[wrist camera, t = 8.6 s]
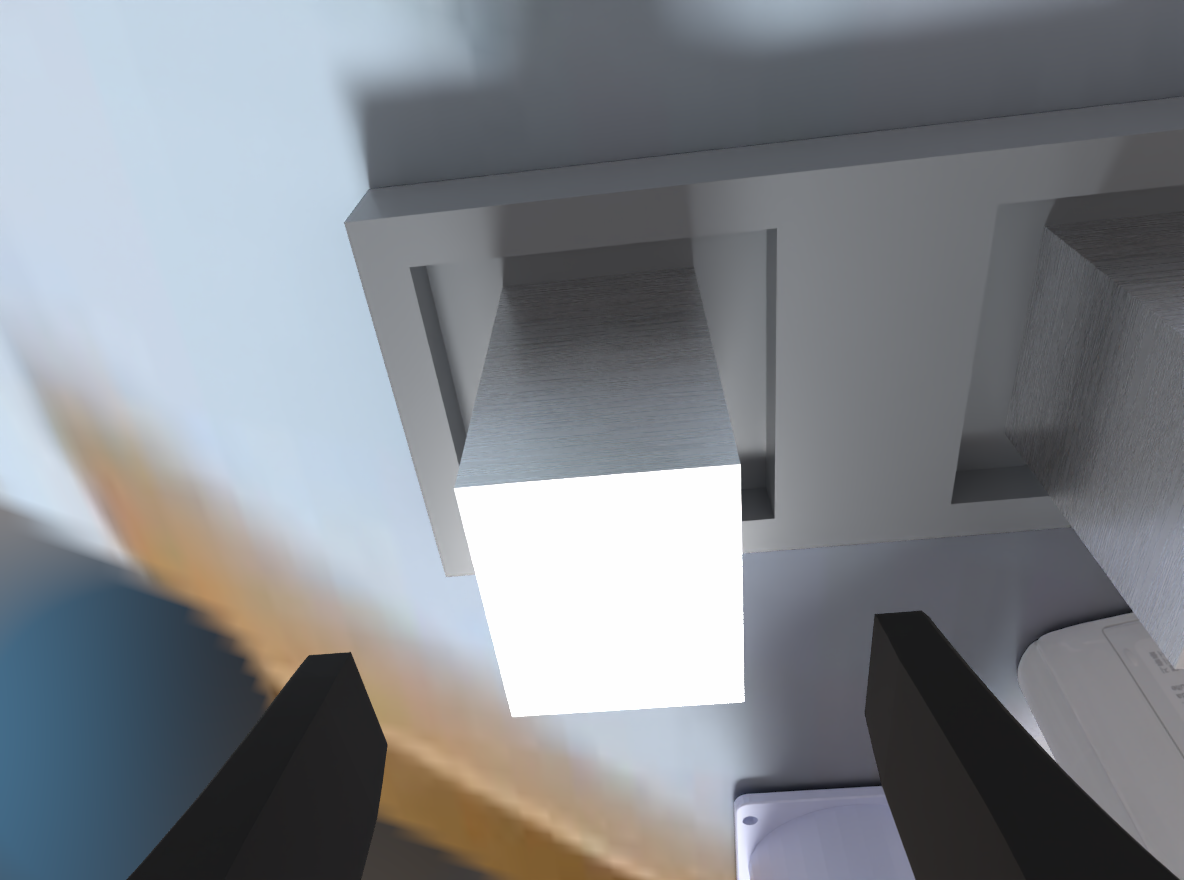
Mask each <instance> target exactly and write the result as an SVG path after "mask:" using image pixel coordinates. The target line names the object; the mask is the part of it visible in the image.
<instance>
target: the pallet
mask: <svg viewBox="0 0 1184 880" xmlns="http://www.w3.org/2000/svg"><path fill="white" fill-rule="evenodd" d="M1181 211H1184V96H1183V97H1174V98H1166V99H1157V100H1148V101H1139V102H1130V103H1122V104H1113V105H1104V106H1095V107H1087V108H1078V109H1069V110H1060V111H1051V112H1043V113H1034V114H1025V115H1016V116H1008V117H999V118H990V119H981V120H972V121H964V122H955V123H946V124H937V125H929V126H920V127H911V128H902V129H893V130H885V131H876V132H867V133H858V134H850V135H841V136H832V137H823V138H814V139H806V140H797V141H788V142H779V143H771V144H762V145H753V146H744V147H735V148H727V149H718V150H709V151H700V152H692V153H683V154H674V155H665V156H656V157H648V158H639V159H630V160H621V161H613V162H604V163H595V164H586V165H577V166H569V167H560V168H551V169H542V170H534V171H525V172H516V173H507V174H498V175H490V176H481V177H472V178H463V179H455V180H446V181H437V182H428V183H419V184H411V185H402V186H393V187H384V188H376V189H369V190H368V191H367V193H366V194H365V195H364V197H363V198H362V199H361V201H360V202H359V203H358V205H357V206H356V207H355V209H354V210H353V211H352V213H351V214H350V215H349V217H348V218H347V220H346V221H345V222H344V224H345V227H346V230H347V234H348V237H349V241H350V244H351V248H352V251H353V255H354V258H355V262H356V265H357V269H358V272H359V276H360V279H361V283H362V286H363V290H364V293H365V297H366V300H367V304H368V307H369V311H370V314H371V317H372V321H373V324H374V328H375V331H376V335H377V338H378V342H379V345H380V349H381V352H382V356H383V359H384V363H385V366H386V370H387V373H388V377H389V380H390V384H391V387H392V391H393V394H394V398H395V401H396V404H397V408H398V411H399V415H400V418H401V422H402V425H403V429H404V432H405V436H406V439H407V443H408V446H409V450H410V453H411V457H412V460H413V464H414V467H415V471H416V474H417V478H418V481H419V485H420V488H421V491H422V495H423V498H424V502H425V505H426V509H427V512H428V516H429V519H430V523H431V526H432V530H433V533H434V537H435V540H436V544H437V547H438V551H439V554H440V558H441V561H442V565H443V568H444V572H445V575H446V577H452V576H465V575H476V572H475V568H474V564H473V560H472V556H471V553H470V549H469V545H468V541H467V537H466V533H465V529H464V525H463V521H462V517H461V513H460V509H459V505H458V501H457V498H456V494H455V490H454V487H455V483H456V479H457V475H458V470H459V466H460V462H461V458H462V454H463V450H464V445H465V441H466V437H467V433H468V429H469V425H470V420H471V416H472V412H473V408H474V404H475V400H476V396H477V391H478V387H479V383H480V379H481V375H482V371H483V366H484V362H485V358H486V354H487V350H488V346H489V342H490V337H491V333H492V329H493V325H494V321H495V317H496V312H497V308H498V304H499V300H500V296H501V292H502V287H503V286H508V285H518V284H528V283H538V282H548V281H558V280H567V279H577V278H587V277H597V276H607V275H617V274H627V273H637V272H647V271H657V270H667V269H677V268H687V267H694V269H695V273H696V278H697V282H698V286H699V290H700V295H701V299H702V303H703V307H704V312H705V316H706V320H707V324H708V329H709V333H710V337H711V341H712V346H713V350H714V354H715V358H716V363H717V367H718V371H719V375H720V380H721V384H722V388H723V392H724V396H725V401H726V405H727V409H728V413H729V418H730V422H731V426H732V430H733V435H734V439H735V443H736V447H737V452H738V456H739V460H740V464H741V530H742V553H755V552H768V551H780V550H793V549H805V548H818V547H831V546H843V545H856V544H869V543H881V542H894V541H906V540H919V539H932V538H944V537H957V536H969V535H982V534H995V533H1007V532H1020V531H1033V530H1045V529H1058V528H1070V527H1072V526H1071V525H1070V523H1069V522H1068V521H1067V519H1066V518H1065V517H1064V515H1063V514H1062V512H1061V511H1060V510H1059V508H1058V507H1057V505H1056V504H1055V503H1054V501H1053V500H1052V499H1051V497H1050V496H1049V494H1048V493H1047V492H1046V490H1045V489H1044V487H1043V486H1042V485H1041V483H1040V482H1039V481H1038V479H1037V478H1036V476H1035V475H1034V474H1033V472H1032V471H1031V469H1030V468H1029V467H1028V465H1027V464H1026V463H1025V461H1024V460H1023V458H1022V457H1021V456H1020V454H1019V453H1018V451H1017V450H1016V449H1015V447H1014V446H1013V445H1012V443H1011V442H1010V440H1009V439H1008V438H1007V436H1006V435H1005V433H1004V432H1005V427H1006V422H1007V416H1008V411H1009V406H1010V401H1011V396H1012V390H1013V385H1014V380H1015V375H1016V369H1017V364H1018V359H1019V354H1020V348H1021V343H1022V338H1023V333H1024V328H1025V322H1026V317H1027V312H1028V307H1029V301H1030V296H1031V291H1032V286H1033V280H1034V275H1035V270H1036V265H1037V260H1038V254H1039V249H1040V244H1041V239H1042V233H1043V228H1044V226H1047V225H1056V224H1066V223H1076V222H1085V221H1095V220H1104V219H1114V218H1123V217H1133V216H1143V215H1152V214H1162V213H1171V212H1181Z"/></svg>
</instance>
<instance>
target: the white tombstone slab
mask: <svg viewBox="0 0 1184 880" xmlns="http://www.w3.org/2000/svg"><path fill="white" fill-rule="evenodd" d="M1017 676H1018V683H1019V686H1020V688H1021V691H1022V693H1023V695H1024V697H1025V699H1026V701H1027V703H1028V705H1029V707H1030V709H1031V711H1032V713H1033V715H1034V717H1035V720H1036V722H1037V724H1038V726H1039V728H1040V730H1041V732H1042V734H1043V736H1044V738H1045V740H1046V742H1047V744H1048V746H1049V748H1050V750H1051V752H1052V754H1053V756H1054V758H1055V760H1056V762H1057V764H1058V765H1059V766H1060V767H1061V768H1062V769H1063V770H1064V771H1065V772H1066V773H1067V774H1068V775H1069V776H1070V777H1071V778H1072V779H1073V780H1074V781H1075V782H1076V783H1077V784H1078V785H1079V786H1080V787H1081V788H1082V789H1083V790H1084V791H1085V792H1086V793H1087V794H1088V795H1089V796H1090V797H1091V798H1092V799H1093V800H1094V801H1095V802H1096V803H1097V804H1098V805H1099V806H1100V807H1101V808H1102V809H1103V810H1104V811H1105V812H1106V813H1107V814H1108V815H1109V816H1111V817H1112V818H1113V819H1114V820H1115V821H1116V822H1117V823H1118V824H1119V825H1120V826H1121V827H1122V828H1123V829H1124V830H1125V831H1126V832H1128V833H1129V834H1130V835H1131V836H1132V837H1133V838H1134V839H1135V840H1136V841H1137V842H1138V843H1139V844H1141V845H1142V846H1143V847H1144V848H1145V849H1146V850H1147V851H1148V852H1149V853H1150V854H1151V855H1153V856H1154V857H1155V858H1156V859H1157V860H1158V861H1159V862H1161V863H1162V864H1163V865H1164V866H1165V867H1166V868H1167V869H1169V870H1170V871H1171V872H1172V873H1173V874H1174V875H1175V876H1177V877H1178V878H1179V879H1180V880H1184V669H1174V668H1173V666H1172V665H1171V663H1170V662H1169V661H1168V659H1167V658H1166V656H1165V655H1164V654H1163V652H1162V651H1161V650H1160V648H1159V647H1158V645H1157V644H1156V643H1155V641H1154V640H1153V638H1152V637H1151V636H1150V634H1149V633H1148V632H1147V630H1146V629H1145V627H1144V626H1143V625H1142V623H1141V622H1140V620H1139V619H1138V618H1137V616H1136V615H1135V614H1134V612H1132V613H1127V614H1123V615H1119V616H1114V617H1109V618H1104V619H1100V620H1095V621H1091V622H1086V623H1082V624H1078V625H1074V626H1070V627H1066V628H1063V629H1060V630H1057V631H1053V632H1050V633H1047V634H1045V635H1043V636H1041V637H1040V638H1039V639H1038V640H1037V641H1035V642H1033V643H1032V644H1031V645H1030V646H1029V647H1028V648H1027V650H1026V651H1025V653H1024V654H1023V656H1022V658H1021V661H1020V663H1019V667H1018V674H1017Z"/></svg>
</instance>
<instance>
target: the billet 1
mask: <svg viewBox="0 0 1184 880" xmlns="http://www.w3.org/2000/svg"><path fill="white" fill-rule="evenodd" d="M454 490H455V494H456V498H457V501H458V505H459V509H460V513H461V517H462V521H463V525H464V529H465V533H466V537H467V541H468V545H469V549H470V553H471V556H472V560H473V564H474V568H475V572H476V576H477V580H478V584H479V588H480V592H481V596H482V600H483V604H484V608H485V611H486V615H487V619H488V623H489V627H490V631H491V635H492V639H493V643H494V647H495V651H496V655H497V659H498V663H499V666H500V670H501V674H502V678H503V682H504V686H505V690H506V694H507V698H508V702H509V706H510V710H511V714H512V717H515V716H530V715H546V714H561V713H577V712H592V711H608V710H624V709H639V708H655V707H670V706H686V705H701V704H717V703H733V702H744V662H743V596H742V530H741V464H740V460H739V456H738V452H737V447H736V443H735V439H734V435H733V430H732V426H731V422H730V418H729V413H728V409H727V405H726V401H725V396H724V392H723V388H722V384H721V380H720V375H719V371H718V367H717V363H716V358H715V354H714V350H713V346H712V341H711V337H710V333H709V329H708V324H707V320H706V316H705V312H704V307H703V303H702V299H701V295H700V290H699V286H698V282H697V278H696V273H695V269H694V267H687V268H677V269H667V270H657V271H647V272H637V273H627V274H617V275H607V276H597V277H587V278H577V279H567V280H558V281H548V282H538V283H528V284H518V285H508V286H503V287H502V292H501V296H500V300H499V304H498V308H497V312H496V317H495V321H494V325H493V329H492V333H491V337H490V342H489V346H488V350H487V354H486V358H485V362H484V366H483V371H482V375H481V379H480V383H479V387H478V391H477V396H476V400H475V404H474V408H473V412H472V416H471V420H470V425H469V429H468V433H467V437H466V441H465V445H464V450H463V454H462V458H461V462H460V466H459V470H458V475H457V479H456V483H455V487H454Z"/></svg>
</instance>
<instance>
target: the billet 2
mask: <svg viewBox="0 0 1184 880" xmlns="http://www.w3.org/2000/svg"><path fill="white" fill-rule="evenodd" d="M1004 433H1005V435H1006V436H1007V438H1008V439H1009V440H1010V442H1011V443H1012V445H1013V446H1014V447H1015V449H1016V450H1017V451H1018V453H1019V454H1020V456H1021V457H1022V458H1023V460H1024V461H1025V463H1026V464H1027V465H1028V467H1029V468H1030V469H1031V471H1032V472H1033V474H1034V475H1035V476H1036V478H1037V479H1038V481H1039V482H1040V483H1041V485H1042V486H1043V487H1044V489H1045V490H1046V492H1047V493H1048V494H1049V496H1050V497H1051V499H1052V500H1053V501H1054V503H1055V504H1056V505H1057V507H1058V508H1059V510H1060V511H1061V512H1062V514H1063V515H1064V517H1065V518H1066V519H1067V521H1068V522H1069V523H1070V525H1071V526H1072V528H1073V529H1074V530H1075V532H1076V533H1077V535H1078V536H1079V537H1080V539H1081V540H1082V541H1083V543H1084V544H1085V546H1086V547H1087V548H1088V550H1089V551H1090V553H1091V554H1092V555H1093V557H1094V558H1095V559H1096V561H1097V562H1098V564H1099V565H1100V566H1101V568H1102V569H1103V571H1104V572H1105V573H1106V575H1107V576H1108V577H1109V579H1110V580H1111V582H1112V583H1113V584H1114V586H1115V587H1116V589H1117V590H1118V591H1119V593H1120V594H1121V596H1122V597H1123V598H1124V600H1125V601H1126V602H1127V604H1128V605H1129V607H1130V608H1131V609H1132V611H1133V612H1134V614H1135V615H1136V616H1137V618H1138V619H1139V620H1140V622H1141V623H1142V625H1143V626H1144V627H1145V629H1146V630H1147V632H1148V633H1149V634H1150V636H1151V637H1152V638H1153V640H1154V641H1155V643H1156V644H1157V645H1158V647H1159V648H1160V650H1161V651H1162V652H1163V654H1164V655H1165V656H1166V658H1167V659H1168V661H1169V662H1170V663H1171V665H1172V666H1173V668H1174V669H1184V211H1181V212H1171V213H1162V214H1152V215H1143V216H1133V217H1123V218H1114V219H1104V220H1095V221H1085V222H1076V223H1066V224H1056V225H1047V226H1044V228H1043V233H1042V239H1041V244H1040V249H1039V254H1038V260H1037V265H1036V270H1035V275H1034V280H1033V286H1032V291H1031V296H1030V301H1029V307H1028V312H1027V317H1026V322H1025V328H1024V333H1023V338H1022V343H1021V348H1020V354H1019V359H1018V364H1017V369H1016V375H1015V380H1014V385H1013V390H1012V396H1011V401H1010V406H1009V411H1008V416H1007V422H1006V427H1005V432H1004Z"/></svg>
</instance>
